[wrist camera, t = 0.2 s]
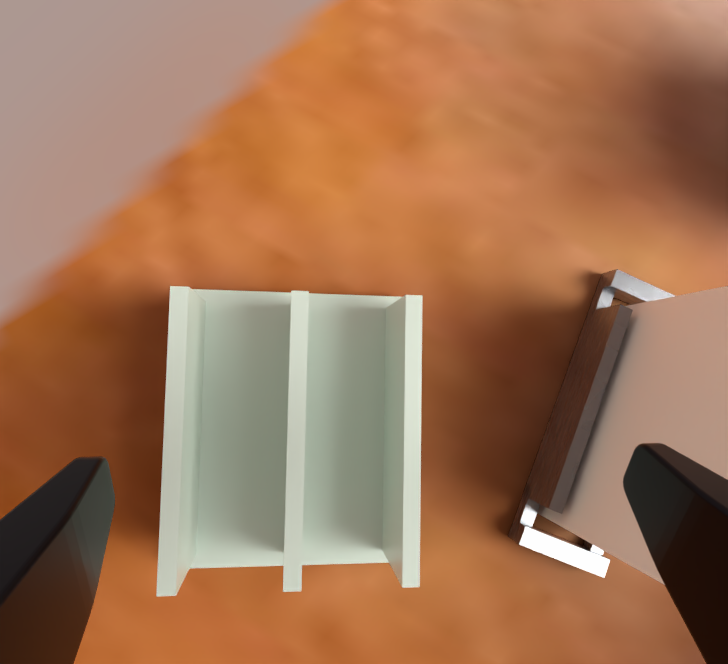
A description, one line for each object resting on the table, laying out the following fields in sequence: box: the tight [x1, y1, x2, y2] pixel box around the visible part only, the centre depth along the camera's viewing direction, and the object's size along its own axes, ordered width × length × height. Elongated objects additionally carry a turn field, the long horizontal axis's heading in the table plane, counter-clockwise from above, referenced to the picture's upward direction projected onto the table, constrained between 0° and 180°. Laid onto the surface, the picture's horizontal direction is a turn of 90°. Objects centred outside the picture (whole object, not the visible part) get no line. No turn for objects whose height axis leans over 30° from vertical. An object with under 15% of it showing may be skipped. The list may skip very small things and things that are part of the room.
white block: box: [537, 286, 728, 585], centre depth 21 cm, size 10×2×10 cm, turn 158°
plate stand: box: [508, 269, 674, 578], centre depth 24 cm, size 13×4×2 cm, turn 158°
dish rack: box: [156, 286, 422, 596], centre depth 21 cm, size 11×9×5 cm
